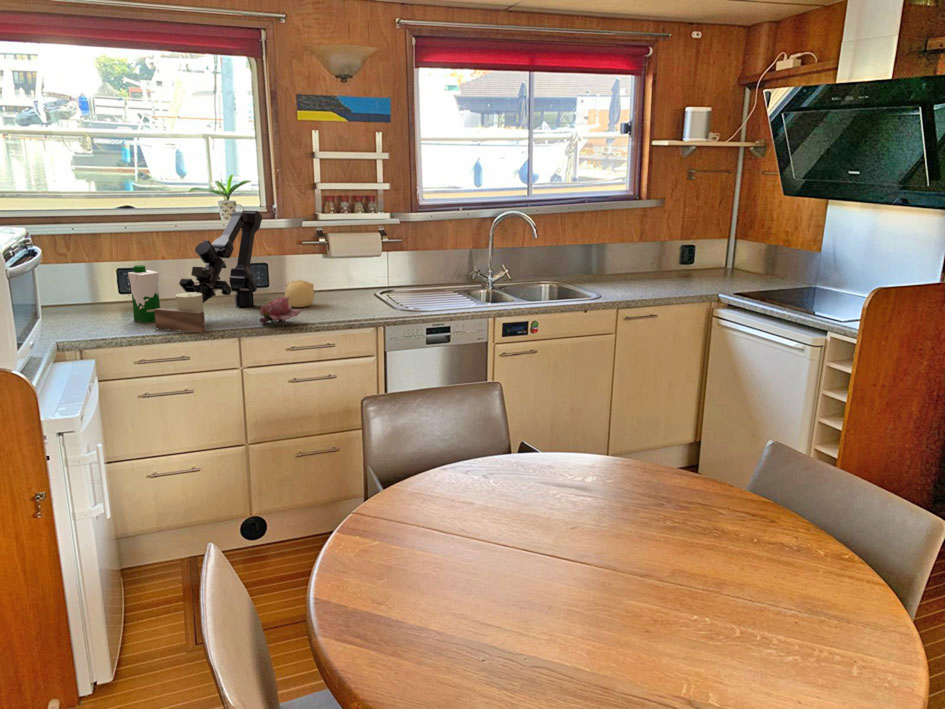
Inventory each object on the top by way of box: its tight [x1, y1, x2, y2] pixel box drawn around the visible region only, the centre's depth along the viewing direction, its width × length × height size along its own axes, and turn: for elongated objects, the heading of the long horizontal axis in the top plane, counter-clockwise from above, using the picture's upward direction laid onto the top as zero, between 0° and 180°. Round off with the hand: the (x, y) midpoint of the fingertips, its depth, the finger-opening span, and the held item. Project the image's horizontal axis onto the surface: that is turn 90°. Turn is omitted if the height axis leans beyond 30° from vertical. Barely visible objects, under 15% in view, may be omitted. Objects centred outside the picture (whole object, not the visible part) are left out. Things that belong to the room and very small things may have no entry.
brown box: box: [154, 307, 206, 333], centre depth 270 cm, size 3×18×7 cm, turn 76°
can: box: [175, 292, 204, 311], centre depth 275 cm, size 9×9×12 cm
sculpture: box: [284, 279, 315, 308], centre depth 312 cm, size 12×12×11 cm
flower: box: [259, 296, 302, 327], centre depth 280 cm, size 15×15×10 cm
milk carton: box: [127, 264, 161, 324], centre depth 282 cm, size 9×9×20 cm
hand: (197, 305), depth 279 cm, fingers closed, pressing on can
